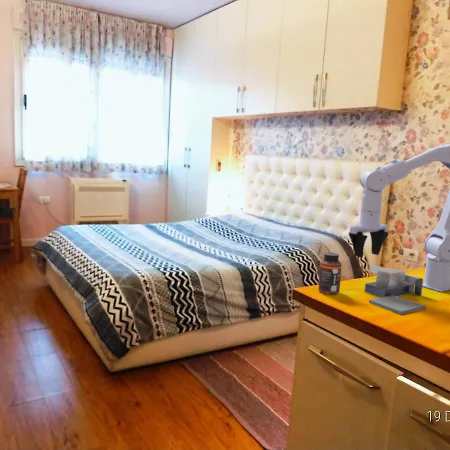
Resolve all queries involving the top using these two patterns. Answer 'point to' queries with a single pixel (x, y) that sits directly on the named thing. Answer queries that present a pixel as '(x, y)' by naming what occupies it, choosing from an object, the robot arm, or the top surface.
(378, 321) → the top surface
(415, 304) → the rubber mat
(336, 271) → the supplement bottle
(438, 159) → the robot arm
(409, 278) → the steel lever
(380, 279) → the grey rectangular block
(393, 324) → the top surface
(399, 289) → the grey piece
